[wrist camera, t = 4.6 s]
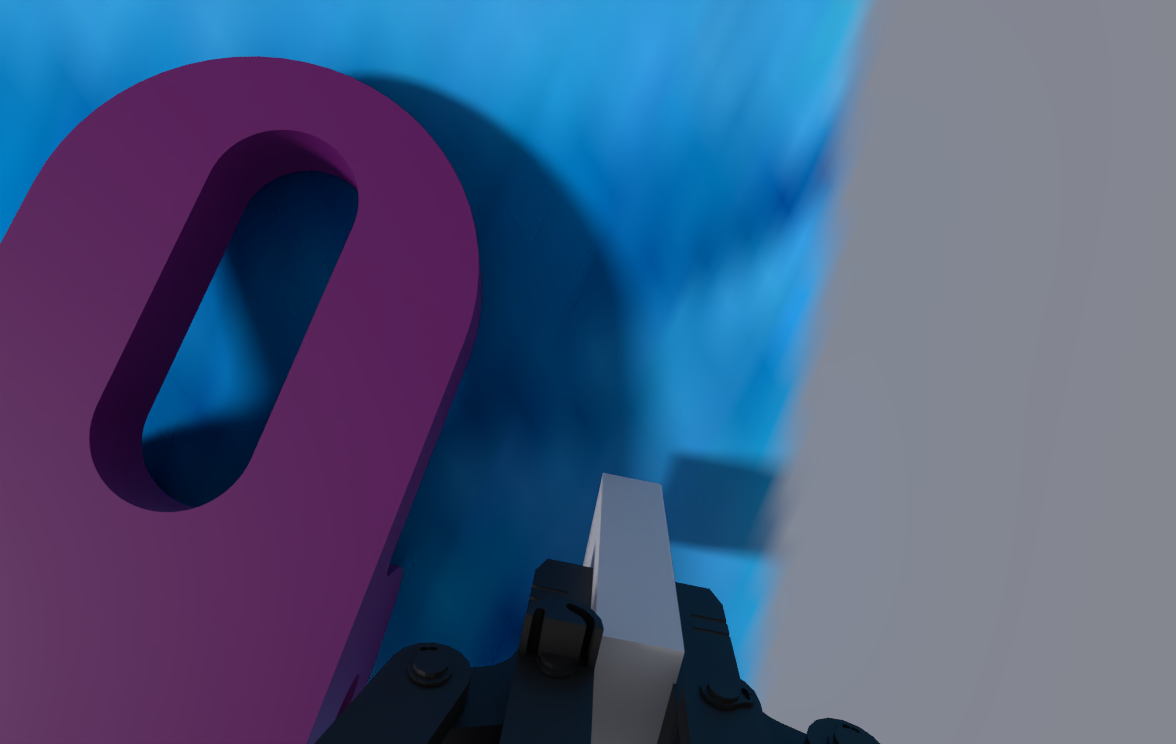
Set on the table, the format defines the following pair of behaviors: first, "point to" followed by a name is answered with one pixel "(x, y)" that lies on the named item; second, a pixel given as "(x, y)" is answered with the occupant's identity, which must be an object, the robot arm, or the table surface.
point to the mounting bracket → (286, 447)
